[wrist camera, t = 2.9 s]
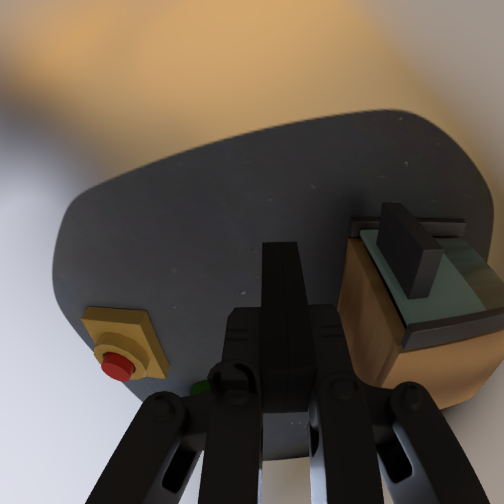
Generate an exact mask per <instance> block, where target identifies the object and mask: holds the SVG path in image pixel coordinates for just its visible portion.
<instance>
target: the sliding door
mask: <svg viewBox="0 0 504 504" xmlns="http://www.w3.org/2000/svg"><path fill="white" fill-rule="evenodd" d="M360 236H361V238H362V239H363V241H364V243H365V245H366V246H367V248H368V250H369V252H370V253H371V255H372V257H373V259H374V261H375V263H376V264H377V266H378V268H379V270H380V272H381V274H382V276H383V278H384V279H385V281H386V283H387V285H388V287H389V289H390V291H391V293H392V295H393V297H394V299H395V301H396V303H397V305H398V307H399V310H400V312H401V314H402V316H403V318H404V320H405V322H406V325H407V326H408V324H410V323H417V322H424V321H431V320H437V319H443V318H449V317H455V316H461V315H466V314H471V313H476V312H481V311H486V308H485V307H484V305H483V304H482V302H481V301H480V299H479V298H478V297H477V295H476V294H475V293H474V291H473V290H472V288H471V287H470V286H469V284H468V283H467V282H466V281H465V279H464V278H463V277H462V275H461V274H460V273H459V272H458V270H457V269H456V268H455V267H454V265H453V264H452V263H451V262H450V260H449V259H448V258H447V257H446V256H445V255H444V253H443V252H444V249H443V247H442V246H441V245H440V244H439V243H438V242H437V241H436V240H435V238H434V237H433V236H432V235H431V234H430V233H429V232H428V231H427V230H426V229H425V228H424V227H423V226H422V225H421V224H420V223H419V221H418V220H417V219H416V218H415V217H414V216H413V215H412V214H411V213H410V212H409V211H408V210H407V209H406V208H405V207H404V206H403V205H401V204H400V203H382V210H381V217H380V223H379V230H361V232H360Z"/></svg>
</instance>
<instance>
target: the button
mask: <svg viewBox="0 0 504 504" xmlns="http://www.w3.org/2000/svg"><path fill="white" fill-rule="evenodd" d="M101 368H102V370H103V371H104V372H105V373H106V374H107V375H108V376H110V377H111V378H113V379H116V380H118V381H123V382H126V381H129V380H130V377H131V375H132V372H133V369H134V364H133V363H132V362H131V361H130V360H128V359H127V358H126V357H124V356H122V355H120V354H118V353H115V352H107V353H106V355H105V357H104V360H103V362H102V364H101Z"/></svg>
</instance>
